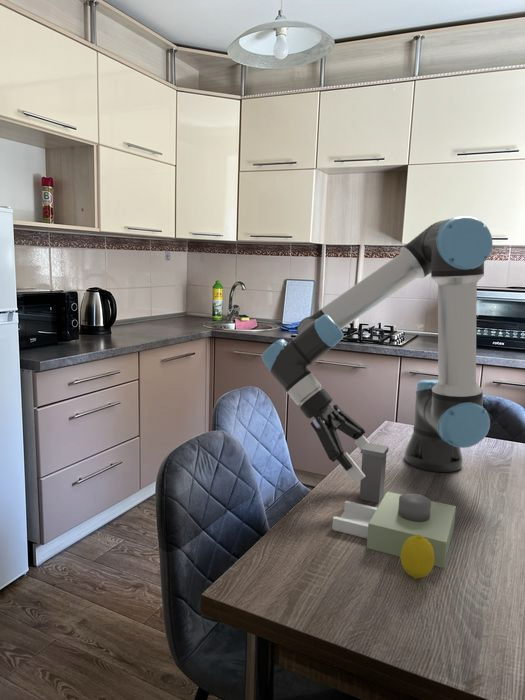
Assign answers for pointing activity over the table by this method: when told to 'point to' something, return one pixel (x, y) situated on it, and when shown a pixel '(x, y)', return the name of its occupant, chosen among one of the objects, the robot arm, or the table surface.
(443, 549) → the green block with knob
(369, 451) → the gray capped pillar
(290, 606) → the table surface
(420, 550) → the lemon
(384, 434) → the table surface
